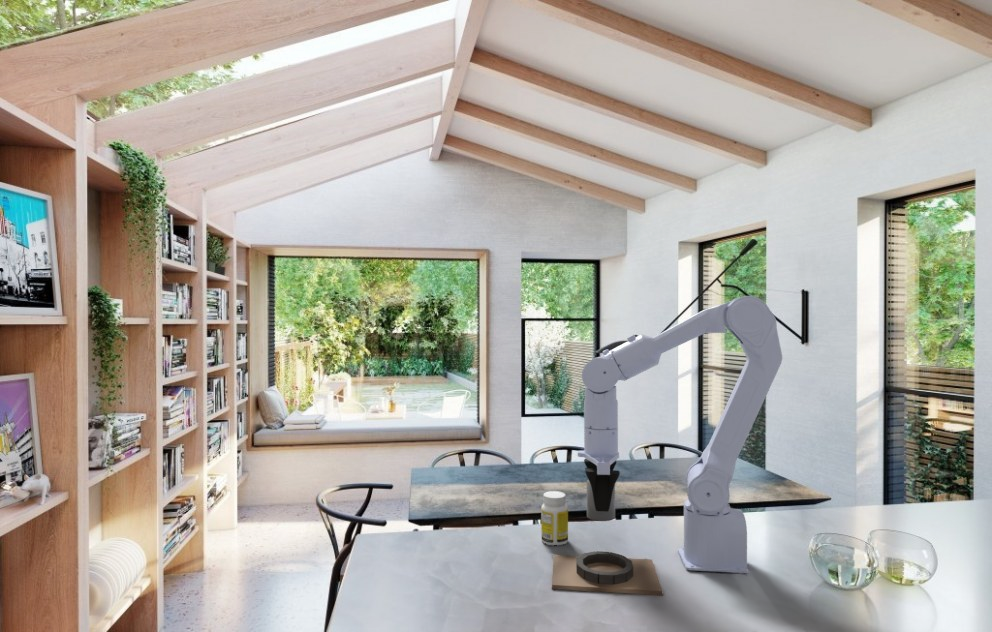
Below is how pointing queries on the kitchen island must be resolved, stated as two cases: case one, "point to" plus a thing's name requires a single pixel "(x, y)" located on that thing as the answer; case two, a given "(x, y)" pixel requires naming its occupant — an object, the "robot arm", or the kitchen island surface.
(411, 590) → the kitchen island surface
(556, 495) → the supplement bottle
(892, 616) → the kitchen island surface
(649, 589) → the ring board
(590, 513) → the cap
